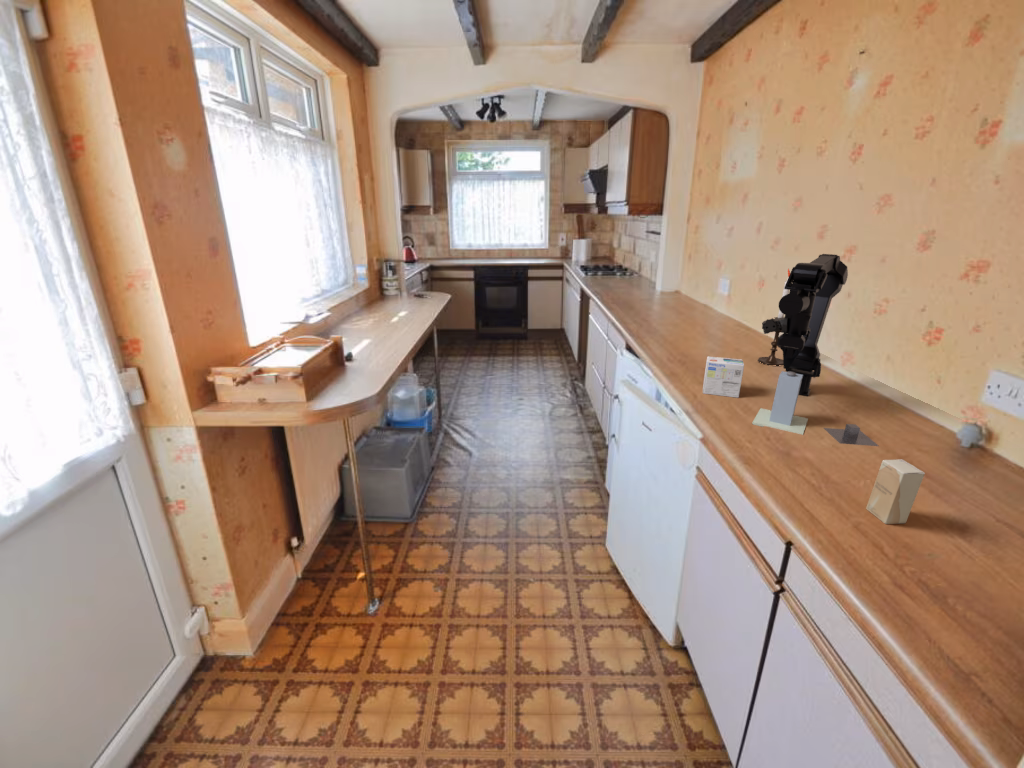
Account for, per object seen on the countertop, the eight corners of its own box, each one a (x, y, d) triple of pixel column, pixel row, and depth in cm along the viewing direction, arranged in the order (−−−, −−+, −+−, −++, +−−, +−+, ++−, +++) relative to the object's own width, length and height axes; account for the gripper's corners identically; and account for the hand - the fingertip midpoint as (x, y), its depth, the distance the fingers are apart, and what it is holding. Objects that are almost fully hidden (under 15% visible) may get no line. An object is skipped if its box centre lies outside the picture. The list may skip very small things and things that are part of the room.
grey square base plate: (822, 429, 129) (826, 417, 128) (859, 431, 128) (863, 419, 126) (839, 444, 120) (842, 432, 119) (878, 447, 119) (882, 435, 118)
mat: (760, 410, 140) (760, 408, 140) (807, 420, 134) (808, 418, 134) (752, 424, 131) (752, 422, 131) (802, 436, 125) (803, 433, 124)
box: (864, 508, 95) (880, 458, 91) (885, 507, 95) (901, 457, 91) (886, 525, 90) (904, 473, 86) (908, 524, 90) (926, 472, 86)
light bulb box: (737, 391, 155) (743, 358, 151) (739, 398, 149) (745, 365, 145) (701, 386, 158) (706, 355, 154) (702, 393, 152) (707, 361, 148)
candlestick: (751, 362, 183) (770, 268, 171) (760, 356, 191) (778, 265, 179) (783, 368, 177) (804, 271, 164) (790, 362, 184) (811, 268, 172)
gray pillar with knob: (772, 415, 136) (782, 368, 131) (792, 419, 133) (803, 372, 128) (769, 421, 132) (779, 373, 127) (790, 425, 129) (801, 376, 124)
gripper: (772, 302, 144) (762, 352, 150) (761, 312, 130) (751, 367, 135) (816, 306, 138) (803, 359, 144) (809, 317, 124) (796, 375, 129)
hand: (788, 364), depth 138 cm, fingers open, 9 cm apart
